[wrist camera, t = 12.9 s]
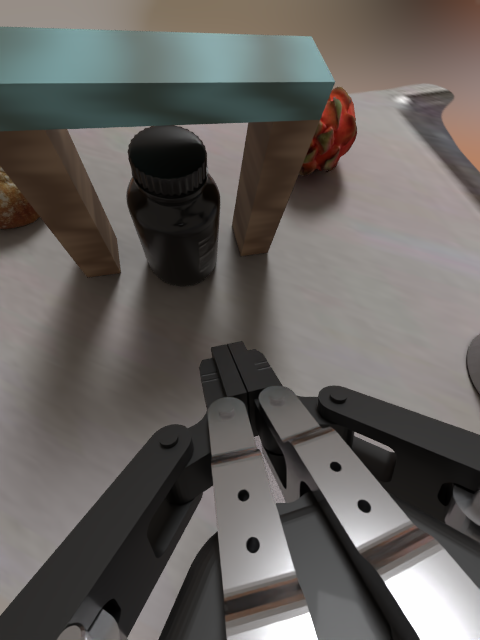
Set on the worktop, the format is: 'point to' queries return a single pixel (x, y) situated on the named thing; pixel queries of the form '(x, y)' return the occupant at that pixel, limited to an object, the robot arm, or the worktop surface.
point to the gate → (154, 118)
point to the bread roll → (13, 205)
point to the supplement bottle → (174, 204)
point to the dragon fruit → (332, 134)
